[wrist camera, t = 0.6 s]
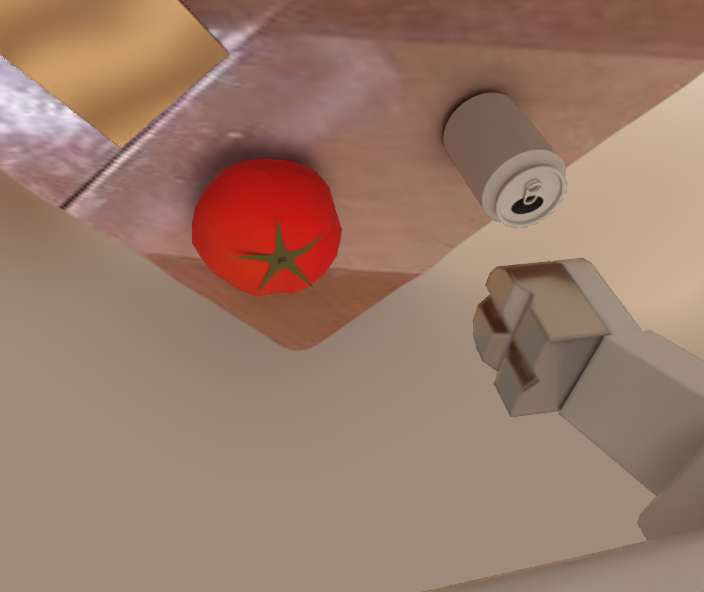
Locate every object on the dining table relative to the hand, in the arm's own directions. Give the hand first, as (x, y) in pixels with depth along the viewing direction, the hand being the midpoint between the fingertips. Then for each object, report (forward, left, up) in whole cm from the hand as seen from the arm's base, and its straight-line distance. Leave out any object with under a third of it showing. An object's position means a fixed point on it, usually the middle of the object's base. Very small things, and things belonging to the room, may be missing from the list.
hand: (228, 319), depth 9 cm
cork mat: (+13, -5, -43) cm, 45 cm away
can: (+21, +30, -43) cm, 56 cm away
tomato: (+29, +10, -43) cm, 53 cm away
